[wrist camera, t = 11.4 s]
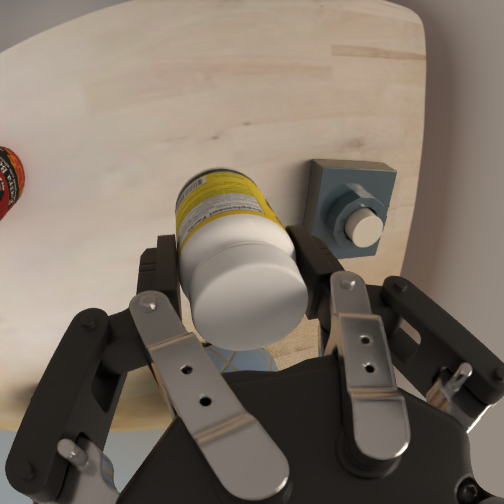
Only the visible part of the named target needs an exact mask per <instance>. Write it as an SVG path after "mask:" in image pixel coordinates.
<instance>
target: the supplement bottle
mask: <svg viewBox="0 0 504 504" xmlns="http://www.w3.org/2000/svg"><path fill="white" fill-rule="evenodd" d="M175 214H176V241H177V268H178V277H179V282H180V285H181V287H182V290H183V292H184V294H185V296H186V297H187V298H188V300H189V302H190V307H191V314H192V320H193V324H194V327H195V328H196V330H197V332H198V333H199V334H200V336H201V337H202V338H203V339H204V340H206V341H207V342H209V343H210V344H212V345H214V346H216V347H219V348H222V349H226V350H234V351H247V350H254V349H259V348H263V347H266V346H268V345H271V344H273V343H276V342H277V341H279V340H281V339H282V338H284V337H285V336H287V335H288V334H289V333H290V332H292V331H293V330H294V329H295V328H296V327H297V325H298V324H299V323H300V321H301V320H302V318H303V316H304V314H305V312H306V309H307V305H308V292H307V288H306V285H305V283H304V281H303V279H302V277H301V275H300V272H299V270H298V267H297V265H296V253H295V249H294V246H293V243H292V241H291V239H290V237H289V235H288V234H287V232H286V231H285V229H284V227H283V226H282V224H281V222H280V221H279V220H278V218H277V217H276V215H275V213H274V212H273V210H272V209H271V207H270V206H269V204H268V202H267V201H266V199H265V198H264V196H263V195H262V193H261V192H260V190H259V189H258V187H257V186H256V184H255V183H254V182H253V180H252V179H251V178H249V177H248V176H247V175H245V174H244V173H242V172H240V171H238V170H235V169H232V168H226V167H217V168H211V169H207V170H204V171H202V172H200V173H198V174H196V175H194V176H193V177H192V178H191V179H189V180H188V181H187V182H186V184H185V185H184V186H183V188H182V189H181V191H180V193H179V195H178V198H177V202H176V210H175Z"/></svg>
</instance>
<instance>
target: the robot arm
mask: <svg viewBox="0 0 504 504" xmlns="http://www.w3.org/2000/svg"><path fill="white" fill-rule="evenodd" d="M285 231H286V232H287V234H288V235H289V237H290V239H291V241H292V243H293V246H294V249H295V253H296V265H297V267H298V270H299V272H300V275H301V277H302V279H303V281H304V283H305V285H306V288H307V292H308V305H307V309H306V312H305V314H306V316H307V318H308V320H311V319H317V318H318V319H319V321H320V322H319V326H318V352H319V357H316V358H311V359H307V360H304V361H302V362H300V363H298V364H295V365H293V366H291V367H289V368H286V369H284V370H282V371H256V370H241V371H234V372H227V373H220V372H219V371H218V369H217V368H216V366H215V365H214V363H213V362H212V360H211V358H210V357H209V355H208V354H207V352H206V351H205V349H204V348H203V346H202V344H201V343H200V341H199V340H198V338H197V337H196V335H195V334H194V333H193V332H190V333H188V332H187V330H186V329H185V327H184V325H183V324H182V312H181V298H180V282H179V277H178V268H177V250H176V240H175V234H173V235H162V236H158V240H157V248H147V249H146V250H145V251H144V252H143V254H142V255H141V258H140V266H139V274H138V283H137V293H136V296H134V297H133V298H132V300H131V301H130V304H129V308H127V309H126V310H124V311H122V312H119V313H116V314H113V315H110V316H108V315H107V313H106V312H105V311H103V310H101V309H98V308H89V309H86V310H83V311H81V312H79V313H78V314H77V315H76V316H75V317H74V318H73V320H72V322H71V323H70V325H69V327H68V329H67V330H66V332H65V334H64V336H63V338H62V339H61V341H60V343H59V345H58V347H57V349H56V351H55V353H54V354H53V356H52V358H51V360H50V362H49V364H48V366H47V368H46V370H45V372H44V374H43V376H42V378H41V380H40V382H39V384H38V386H37V389H36V391H35V393H34V395H33V397H32V399H31V402H30V404H29V406H28V408H27V411H26V413H25V415H24V417H23V420H22V422H21V425H20V427H19V429H18V432H17V434H16V437H15V439H14V442H13V445H12V447H11V450H10V453H9V455H8V458H7V461H6V466H5V472H6V476H7V479H8V481H9V483H10V484H11V486H12V487H13V488H14V489H15V490H17V491H18V492H20V493H22V494H24V495H26V496H28V497H30V498H31V499H32V500H33V501H35V502H37V503H39V504H504V498H501V497H497V496H494V495H492V494H490V493H488V492H486V491H485V490H483V489H482V488H481V487H480V486H479V485H478V484H477V482H476V480H475V478H474V475H473V471H472V466H471V459H470V443H469V438H468V435H467V433H468V432H469V431H470V430H471V429H472V428H473V426H474V425H475V424H476V423H477V422H478V421H479V420H480V419H481V418H482V417H483V416H484V415H485V414H486V413H487V412H488V411H489V410H490V409H491V408H492V407H493V406H494V405H495V404H496V403H497V402H498V401H499V400H500V399H501V398H502V397H503V396H504V363H503V362H502V361H501V360H500V359H499V358H498V357H497V356H496V355H494V354H493V353H492V352H491V351H490V350H489V349H488V348H487V347H486V346H485V345H484V344H482V343H481V342H480V341H479V340H478V339H477V338H476V337H474V336H473V335H472V334H471V333H470V332H469V331H468V330H467V329H466V328H465V327H463V326H462V325H461V324H460V323H459V322H458V321H457V320H455V319H454V318H453V317H452V316H451V315H450V314H448V313H447V312H446V311H445V310H444V309H442V308H441V307H440V306H439V305H438V304H436V303H435V302H434V301H433V300H432V299H430V298H429V297H428V296H427V295H426V294H424V293H423V292H422V291H421V290H419V289H418V288H417V287H416V286H415V285H413V284H412V283H411V282H409V281H408V280H407V279H405V278H402V277H399V276H389V277H387V278H386V279H385V280H384V283H383V286H377V285H367V284H365V282H364V280H363V279H362V278H361V277H360V276H359V275H357V274H355V273H353V272H350V271H345V270H344V268H343V267H342V266H341V264H340V263H339V261H338V260H337V259H336V257H335V256H334V255H333V253H332V252H331V250H330V249H328V246H327V245H326V244H325V242H324V241H323V240H321V239H320V238H318V237H317V236H315V235H312V236H311V235H310V234H309V232H308V231H307V230H306V228H305V227H304V226H303V225H299V226H287V227H286V228H285ZM403 319H405V320H406V321H407V322H408V323H409V324H410V325H411V326H412V327H413V328H415V329H416V330H417V331H418V332H419V334H420V336H421V343H420V345H419V344H417V343H416V342H415V341H414V340H413V339H412V338H411V337H410V336H409V335H408V334H407V333H406V332H405V331H403V329H401V328H400V326H401V323H402V321H403ZM392 364H393V365H394V366H395V367H396V368H397V369H398V370H399V371H400V372H401V373H402V374H403V375H404V376H405V378H407V380H408V381H409V382H410V383H411V384H412V385H413V386H414V387H415V388H416V389H417V390H418V391H419V392H420V393H421V394H422V395H423V396H424V397H425V398H426V401H427V402H425V401H423V400H421V399H419V398H418V397H416V396H414V395H412V394H410V393H408V392H406V391H405V390H403V389H401V388H399V387H397V385H396V379H395V374H394V369H393V365H392ZM146 365H148V367H149V370H150V372H151V374H152V376H153V378H154V381H155V383H156V385H157V387H158V389H159V391H160V393H161V396H162V398H163V400H164V402H165V405H166V407H167V409H168V411H169V413H170V415H171V417H172V419H173V421H172V422H171V424H170V425H169V427H168V428H167V430H166V431H165V432H164V434H163V435H162V437H161V438H160V439H159V441H158V442H157V444H156V445H155V446H154V448H153V449H152V451H151V452H150V453H149V455H148V456H147V457H146V459H145V460H144V462H143V463H142V465H141V466H140V467H139V468H138V470H137V471H136V473H135V474H134V476H133V477H132V478H131V479H130V481H129V482H128V484H127V485H126V486H125V488H124V489H123V490H122V492H121V493H119V492H118V491H117V489H116V487H115V485H114V480H113V477H114V469H113V465H112V463H111V461H110V460H109V458H108V457H107V456H106V455H105V454H104V453H103V450H104V446H105V443H106V439H107V436H108V433H109V429H110V426H111V423H112V419H113V416H114V413H115V410H116V407H117V404H118V401H119V397H120V394H121V391H122V388H123V385H124V382H125V379H126V377H127V373H128V372H129V371H131V370H134V369H137V368H140V367H143V366H146Z"/></svg>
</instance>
